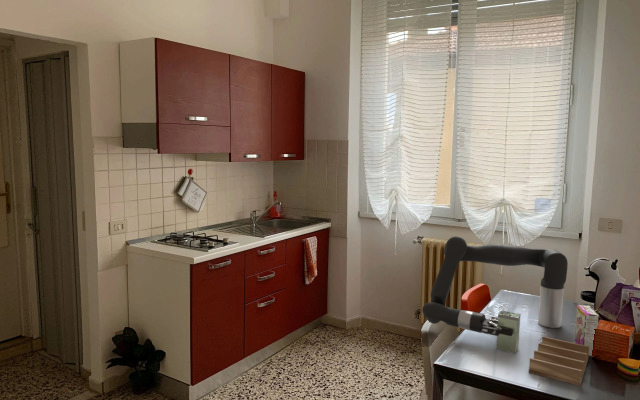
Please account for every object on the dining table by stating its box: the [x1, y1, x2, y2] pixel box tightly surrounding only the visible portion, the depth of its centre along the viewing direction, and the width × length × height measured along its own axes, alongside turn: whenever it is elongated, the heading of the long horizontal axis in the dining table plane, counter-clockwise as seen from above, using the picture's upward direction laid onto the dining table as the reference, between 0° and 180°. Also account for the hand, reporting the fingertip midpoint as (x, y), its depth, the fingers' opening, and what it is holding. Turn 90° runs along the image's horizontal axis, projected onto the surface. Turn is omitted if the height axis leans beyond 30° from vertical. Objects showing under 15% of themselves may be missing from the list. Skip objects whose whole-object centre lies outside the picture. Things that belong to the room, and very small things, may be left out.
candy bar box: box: [573, 304, 600, 357], centre depth 188 cm, size 11×5×16 cm, turn 168°
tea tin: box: [496, 310, 522, 354], centre depth 189 cm, size 5×7×14 cm
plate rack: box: [528, 336, 590, 387], centre depth 175 cm, size 25×16×5 cm, turn 146°
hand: (514, 330), depth 187 cm, fingers open, 7 cm apart
